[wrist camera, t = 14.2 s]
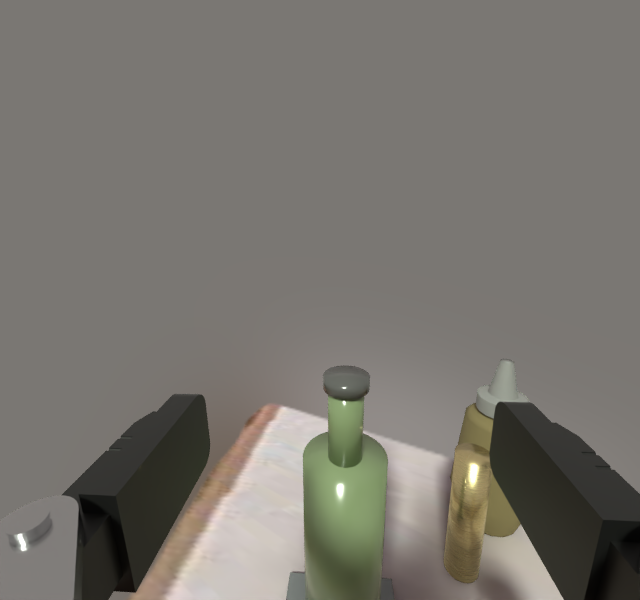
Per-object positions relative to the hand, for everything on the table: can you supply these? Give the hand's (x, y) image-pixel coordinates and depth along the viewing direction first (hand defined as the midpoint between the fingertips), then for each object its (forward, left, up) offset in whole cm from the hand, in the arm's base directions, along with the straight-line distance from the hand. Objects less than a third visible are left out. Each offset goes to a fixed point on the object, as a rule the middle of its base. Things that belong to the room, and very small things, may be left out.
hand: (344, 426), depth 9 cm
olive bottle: (0, -11, -25) cm, 27 cm away
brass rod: (-11, -17, -26) cm, 33 cm away
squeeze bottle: (-16, -23, -26) cm, 38 cm away
